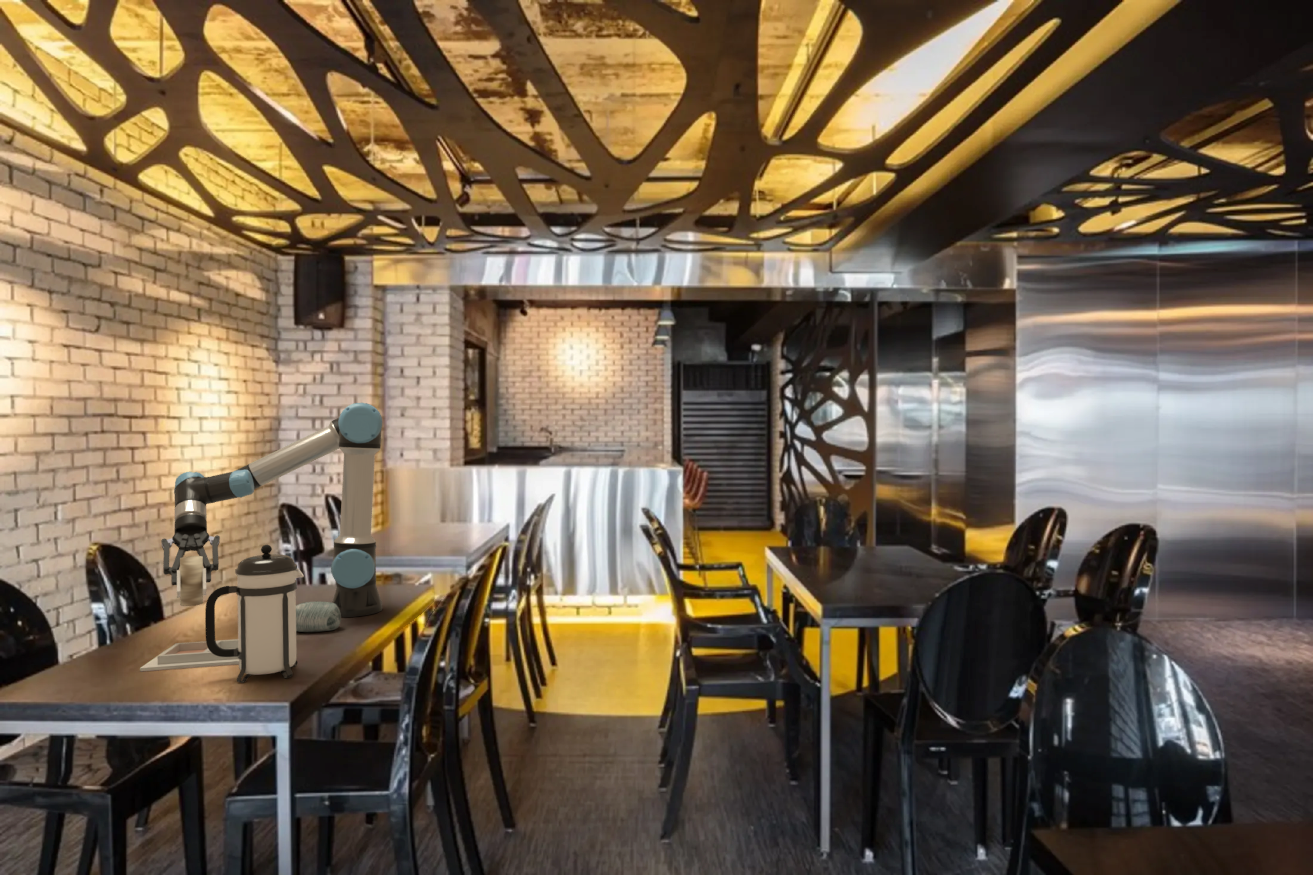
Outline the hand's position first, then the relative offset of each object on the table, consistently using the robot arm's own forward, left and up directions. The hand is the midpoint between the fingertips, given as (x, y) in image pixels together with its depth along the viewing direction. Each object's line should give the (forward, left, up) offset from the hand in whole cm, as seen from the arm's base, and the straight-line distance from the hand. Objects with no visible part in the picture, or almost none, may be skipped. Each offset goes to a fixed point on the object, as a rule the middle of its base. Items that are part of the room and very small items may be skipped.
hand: (191, 593), depth 198 cm
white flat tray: (-6, +5, -16) cm, 17 cm away
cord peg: (+1, -4, -3) cm, 5 cm away
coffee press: (-22, +24, -16) cm, 36 cm away
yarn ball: (-26, -17, -16) cm, 35 cm away
